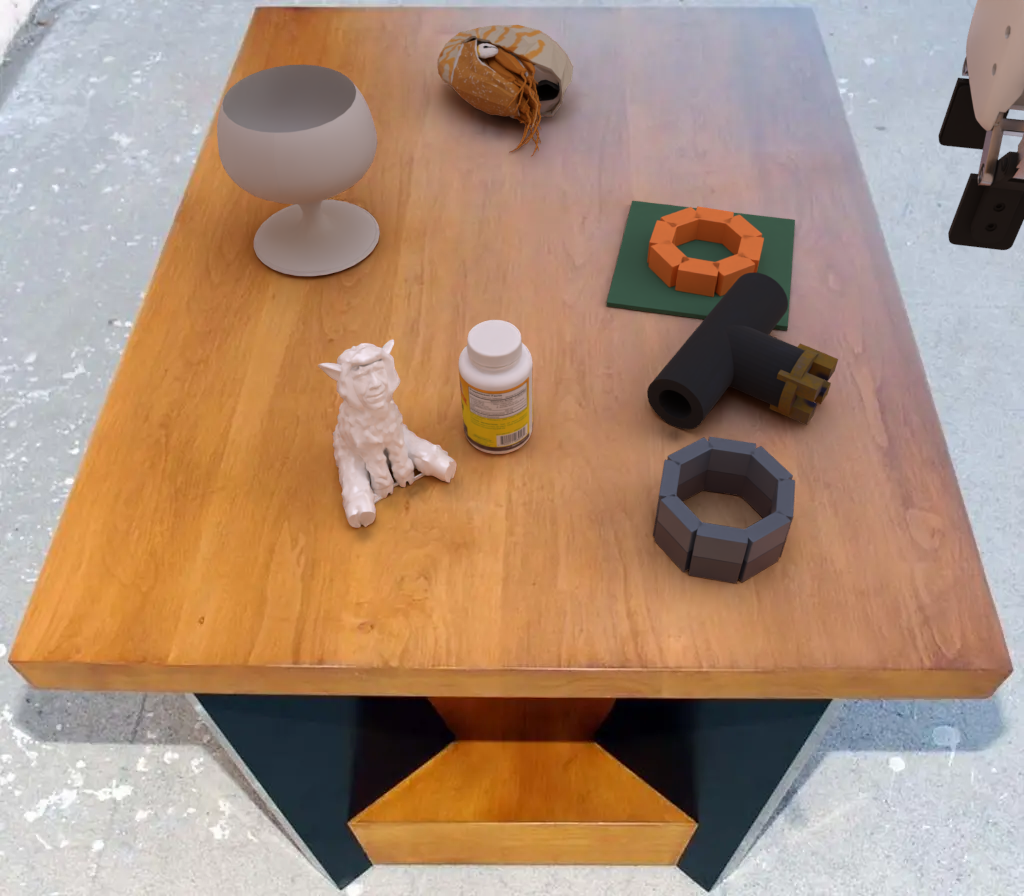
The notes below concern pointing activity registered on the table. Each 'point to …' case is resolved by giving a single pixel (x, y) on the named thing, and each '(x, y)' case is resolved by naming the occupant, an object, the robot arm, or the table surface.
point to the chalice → (301, 164)
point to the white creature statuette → (376, 433)
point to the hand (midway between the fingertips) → (971, 192)
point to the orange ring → (703, 227)
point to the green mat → (651, 294)
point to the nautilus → (508, 73)
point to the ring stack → (728, 473)
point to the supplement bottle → (496, 388)
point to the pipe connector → (742, 360)
